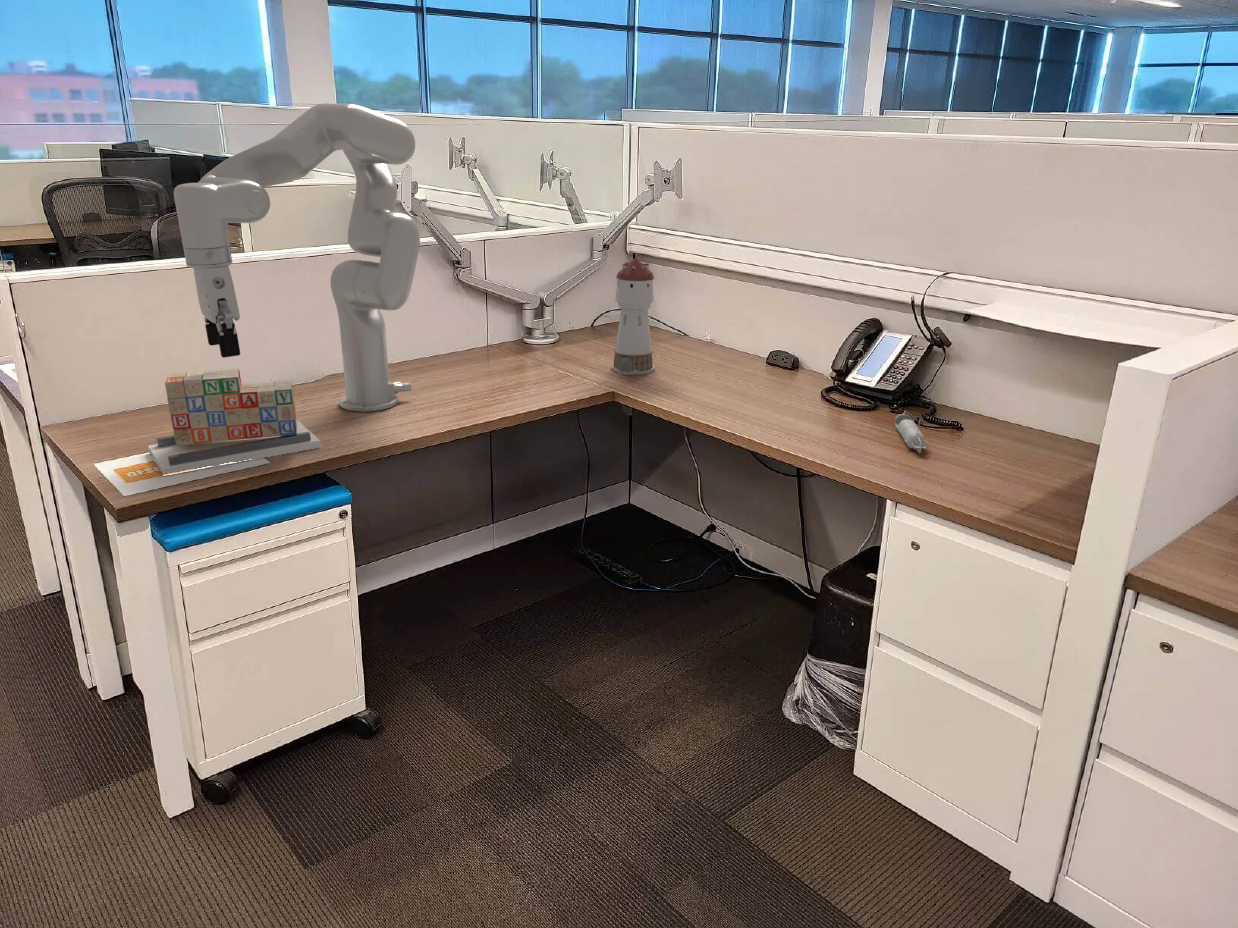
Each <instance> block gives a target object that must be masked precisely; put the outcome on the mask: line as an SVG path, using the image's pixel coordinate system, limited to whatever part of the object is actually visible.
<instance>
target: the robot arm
mask: <svg viewBox="0 0 1238 928" xmlns="http://www.w3.org/2000/svg"><path fill="white" fill-rule="evenodd" d="M415 149H416V140H415V135H414V133H413V131H412V129H411V128H410V127H409V126H408V125H407V124H406V123H404V122H403V121H402V120H399V119H397V118H395V117H392V116H389V115H386V114H383V113H381V112H378V111H375V110H373V109H370V108H369V107H368V108H367V107H365V106H362V105H359V104H358V105H357V104H353V103H328V102H327V103H324V102H323V103H320V104H316V105H312V107H310V108H309V109H307V110H306V111H304V112H303V113H302V114H301V115H299V116H298V117H297V118H296V119H295V120H293V121H292V122H291V123H290V124H288V125H287V126H286V127H284V128H283V129H282V130H281V131H279V132H278V133H277V134H275V135H274V136H273V137H271V138H270V139H268V140H266V141H263V142H261V143H258V144H256V145H254V146H252V147H250V148H248V149H245V150H243V151H241V152H238V153H237V154H234V155H232V156H229V157H228V158H227V159H225V160H223V161H221V162H220V163H219V164H218V165H216V166H215V167H213V168H212V169H211V170H210V171H208V172H207V173H205V174H204V176H202V177H201V178H200V180H199V181H198V182H186V183H182V184H178V185H176V187H174V190H173V200H174V204H175V208H176V214H177V219H178V227H179V231H180V236H181V242H182V248H183V253H184V258H185V259H184V261H185V263H186V264H185V265H186V267H187V268H191V269H193V275H194V280H195V287H196V293H197V299H198V303H199V307H200V310H201V314H202V315H203V316H204V322H205V324H204V326H205V332H206V336H207V343H208V345H209V346H217V345H218V347H219V351H220V356H221V357H222V358H224V359H225V358H230V357H237V356H238V357H239V356H240V355H241V350H240V349H241V348H240V343H239V337H238V333H237V332H238V331H237V328H236V324H235V322H234V320H235V321H239V320H240V319H241V315H240V309H239V305H238V299H237V295H236V294H237V293H236V291H235V287H234V286H235V285H234V281H233V277H232V273H231V270H230V265H232V264H233V258H232V253H231V246H230V239H229V234H228V233H229V232H228V227H227V224H253V223H256V222H259V221H261V220H263V219H264V218H265V217H266V216H267V214H268V213H269V211H270V207H271V200H270V195H269V193H268V191H267V190H266V189H265V188H268V187H272V186H276V185H283V184H287V183H290V182H295V181H297V180H301V179H302V178H304V177H306V176H307V175H308V174H309V173H311V172H312V171H313V170H314V169H315V168H316V167H317V166H318V165H319V164H321V163H322V162H323V161H324V160H326V159H327V158H328V157H329V156H330V155H331V154H332V153H334V152H336V151H340V150H341V151H343V154H344V155H345V157H346V158H347V160H348V162H349V163H350V166H351V168H352V170H353V172H354V173H353V174H354V176H355V182H356V186H355V193H354V200H353V204H352V209H351V213H350V214H351V215H350V218H349V224H348V230H347V242H348V245H349V247H350V248H351V250H353V251H354V252H356V253H357V254H361V255H364V256H370V257H377V258H380V259H379V262H375V261H369V260H360V259H348V260H344V261H342V262H340V263H338V264H337V265H336V266H335V267H334V268H333V270H332V272H331V275H330V289H331V294H332V297H333V300H334V304H335V307H336V311H337V316H338V323H339V325H338V326H339V334H340V344H341V355H342V365H343V374H344V376H343V377H344V383H345V384H344V386H345V387H344V388H345V395H343V396H342V397H340V398H339V406H340V407H341V408H342V409H344V410H347V411H351V412H364V413H365V412H376V411H377V412H378V411H382V410H387V409H390V408H393V407H394V406H396V405H397V404H398V402H399V397H398V394H399V393H400V392H402V393H403V392H410V391H411V390H412V385H411V382H403V383H401V381H397V382H392V381H390V373H389V361H388V360H389V359H388V346H387V332H386V331H387V330H386V324H385V320H384V317H383V314H382V311H383V310H384V311H396V310H399V309H401V308H402V307H403V306H404V305H405V304H406V303H407V301H408V299H409V296H410V293H411V290H412V286H413V281H414V276H415V272H416V271H415V270H416V267H417V263H418V256H419V252H420V246H421V245H420V244H421V237H420V230H419V227H418V224H417V222H416V221H415V220H414V219H413V218H412V217H411V216H410V215H408V214H406V213H403V212H397V211H396V205H397V201H398V200H397V199H398V186H397V181H396V178H395V177H394V173H393V172H392V170H391V168H390V166H389V165H402V164H406V163H407V162H408V161H410V159H412V157H413V156H414V153H415V151H416V150H415ZM381 310H382V311H381Z"/></svg>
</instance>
